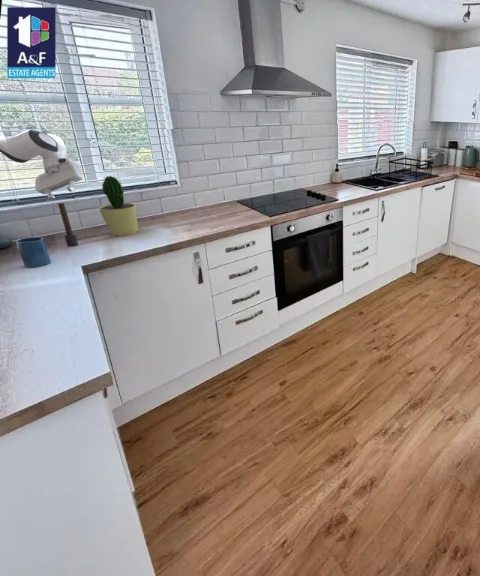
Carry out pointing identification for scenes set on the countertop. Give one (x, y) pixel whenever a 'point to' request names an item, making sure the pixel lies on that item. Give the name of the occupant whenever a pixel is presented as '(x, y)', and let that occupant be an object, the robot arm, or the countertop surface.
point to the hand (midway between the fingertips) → (61, 194)
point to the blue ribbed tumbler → (33, 251)
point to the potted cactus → (118, 209)
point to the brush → (67, 227)
